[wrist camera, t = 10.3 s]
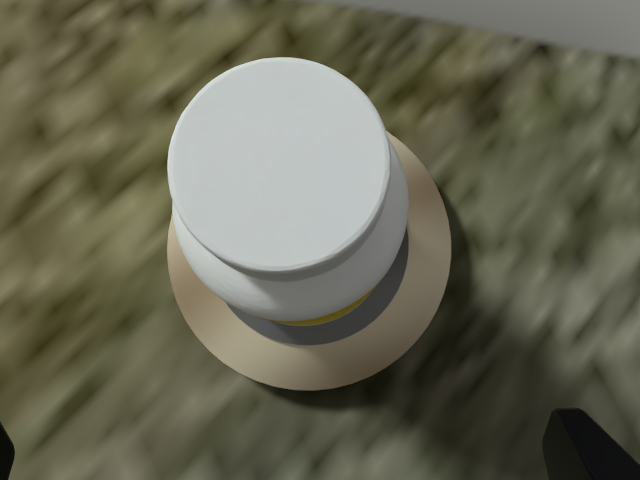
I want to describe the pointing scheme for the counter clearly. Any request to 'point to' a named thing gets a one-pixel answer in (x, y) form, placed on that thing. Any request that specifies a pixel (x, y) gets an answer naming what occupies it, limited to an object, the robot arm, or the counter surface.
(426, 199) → the round plate
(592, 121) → the counter surface
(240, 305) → the supplement bottle
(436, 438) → the counter surface
